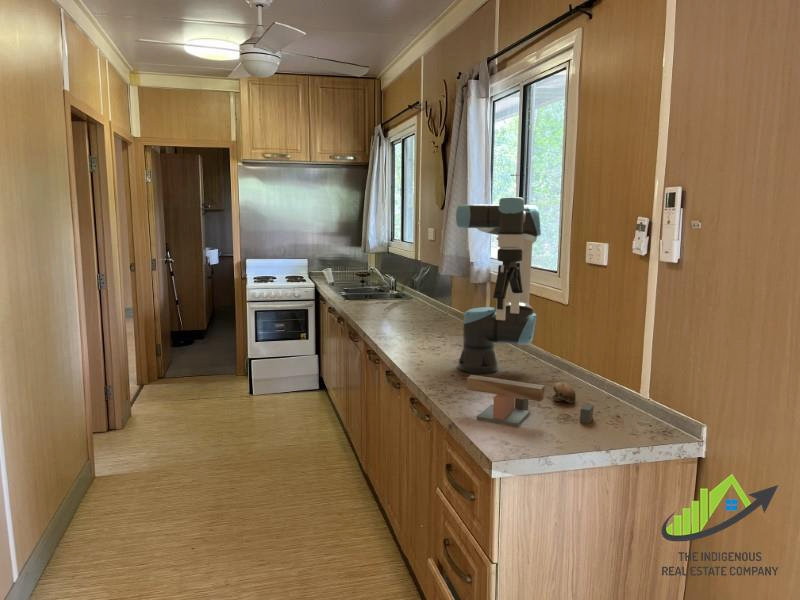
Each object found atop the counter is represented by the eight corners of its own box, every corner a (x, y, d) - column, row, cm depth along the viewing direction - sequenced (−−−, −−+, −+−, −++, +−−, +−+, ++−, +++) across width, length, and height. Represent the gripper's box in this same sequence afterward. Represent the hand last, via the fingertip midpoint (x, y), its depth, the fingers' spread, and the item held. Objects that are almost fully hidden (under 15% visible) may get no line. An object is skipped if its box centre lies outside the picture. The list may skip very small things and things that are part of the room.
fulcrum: (491, 407, 172) (491, 385, 171) (530, 414, 166) (530, 391, 165) (476, 419, 162) (477, 396, 161) (517, 427, 156) (518, 402, 155)
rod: (471, 386, 170) (471, 374, 169) (544, 398, 159) (544, 385, 159) (466, 389, 167) (467, 377, 166) (540, 401, 156) (541, 389, 156)
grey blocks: (519, 406, 173) (520, 393, 173) (592, 418, 163) (593, 405, 162) (514, 410, 169) (515, 398, 169) (589, 423, 159) (590, 410, 158)
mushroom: (542, 390, 179) (555, 375, 177) (554, 394, 184) (567, 380, 183) (559, 408, 173) (572, 393, 172) (570, 412, 179) (584, 397, 177)
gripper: (511, 246, 186) (509, 309, 189) (483, 249, 164) (482, 321, 167) (533, 246, 182) (531, 311, 185) (508, 250, 161) (506, 324, 164)
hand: (507, 316), depth 176 cm, fingers open, 13 cm apart
